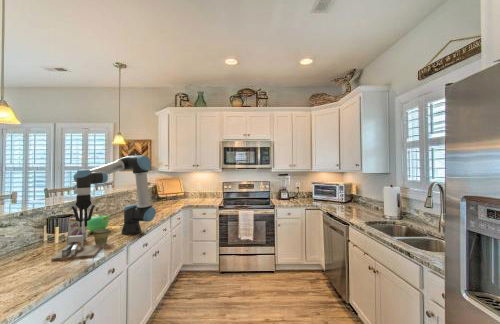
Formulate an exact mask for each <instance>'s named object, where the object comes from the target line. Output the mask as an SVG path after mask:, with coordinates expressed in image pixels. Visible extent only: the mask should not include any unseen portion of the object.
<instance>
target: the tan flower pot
mask: <svg viewBox="0 0 500 324" xmlns="http://www.w3.org/2000/svg"><path fill="white" fill-rule="evenodd" d="M110 232H111V231H110V229H109V228H105V229H98V230H94V231H92V233H93V238H94V243H95V246H96V245H102V247H103V246H106V245H107V242H108V237H109V233H110Z"/></svg>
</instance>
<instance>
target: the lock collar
mask: <svg viewBox="0 0 500 324" xmlns="http://www.w3.org/2000/svg"><path fill="white" fill-rule="evenodd" d="M72 242H77V243H80V247H81V248H82V247H83V246H84V241H83V235H76V236H68V235H67V236H66V246H68V245H69V244H71V243H72Z"/></svg>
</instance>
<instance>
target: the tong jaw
mask: <svg viewBox="0 0 500 324" xmlns="http://www.w3.org/2000/svg"><path fill="white" fill-rule="evenodd" d="M78 247H79V244H78V243H77V244H74V245H73V247H72V249H71V256H73V255H75V254H76V252H77V250H78Z"/></svg>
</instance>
